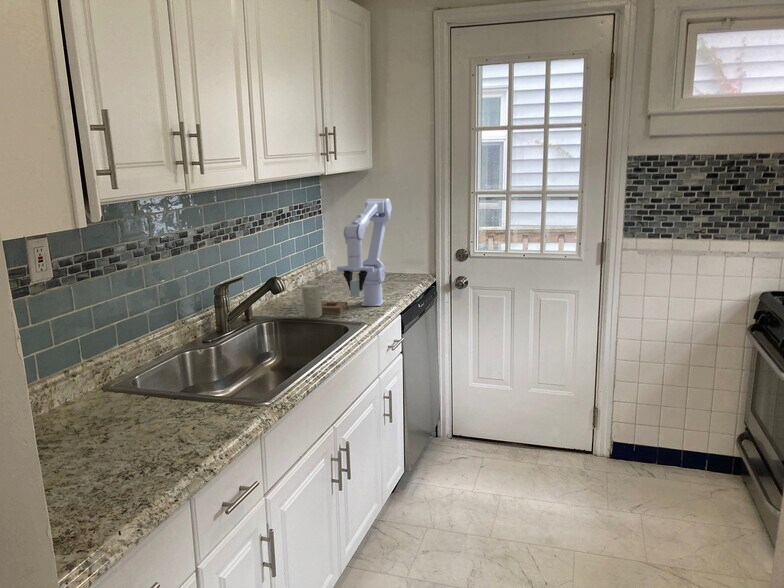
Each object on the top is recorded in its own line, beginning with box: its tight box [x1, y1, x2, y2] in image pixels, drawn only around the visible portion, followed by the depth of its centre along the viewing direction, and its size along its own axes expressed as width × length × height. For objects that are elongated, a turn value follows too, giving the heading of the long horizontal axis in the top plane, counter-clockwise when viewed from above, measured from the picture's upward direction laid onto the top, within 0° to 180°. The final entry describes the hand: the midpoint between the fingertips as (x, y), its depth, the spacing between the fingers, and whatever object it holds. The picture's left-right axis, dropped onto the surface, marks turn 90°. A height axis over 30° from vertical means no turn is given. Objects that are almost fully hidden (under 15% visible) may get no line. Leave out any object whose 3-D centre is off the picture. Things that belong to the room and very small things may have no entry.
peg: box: [349, 279, 363, 298], centre depth 250 cm, size 4×4×6 cm
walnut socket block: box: [321, 300, 349, 315], centre depth 257 cm, size 11×11×2 cm
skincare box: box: [300, 284, 323, 319], centre depth 247 cm, size 6×4×12 cm
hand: (356, 290), depth 251 cm, fingers closed on peg, 3 cm apart
